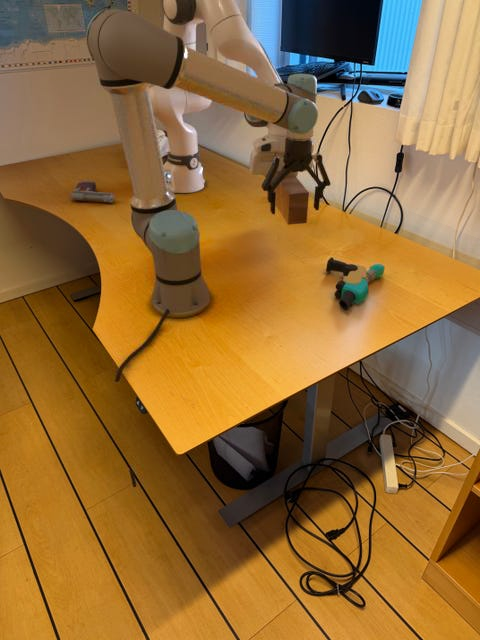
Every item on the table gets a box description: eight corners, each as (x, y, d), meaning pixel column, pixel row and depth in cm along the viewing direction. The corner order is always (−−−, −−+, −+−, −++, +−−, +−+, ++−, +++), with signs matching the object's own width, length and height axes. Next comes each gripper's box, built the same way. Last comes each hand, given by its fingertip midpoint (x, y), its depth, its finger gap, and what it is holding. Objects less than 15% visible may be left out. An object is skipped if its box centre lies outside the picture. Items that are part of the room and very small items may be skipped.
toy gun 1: (126, 191, 190) (111, 206, 179) (83, 188, 193) (65, 202, 182) (125, 182, 188) (109, 196, 176) (81, 179, 191) (63, 193, 179)
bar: (306, 223, 142) (309, 192, 137) (287, 224, 141) (289, 194, 136) (285, 193, 162) (286, 165, 156) (268, 194, 161) (269, 166, 155)
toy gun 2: (304, 289, 121) (361, 305, 115) (336, 248, 139) (387, 259, 134) (302, 304, 124) (359, 320, 118) (334, 262, 142) (384, 273, 136)
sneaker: (130, 167, 214) (125, 139, 207) (157, 149, 236) (154, 123, 229) (151, 169, 212) (147, 141, 204) (176, 150, 234) (174, 125, 226)
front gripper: (337, 131, 135) (329, 202, 148) (251, 136, 132) (251, 208, 144) (347, 138, 129) (338, 211, 142) (257, 144, 126) (256, 218, 138)
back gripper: (311, 137, 152) (307, 179, 160) (248, 141, 149) (248, 184, 157) (317, 142, 147) (313, 186, 155) (252, 147, 144) (252, 191, 152)
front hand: (294, 210), depth 143 cm, fingers open, 13 cm apart
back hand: (280, 185), depth 156 cm, fingers closed on bar, 6 cm apart
